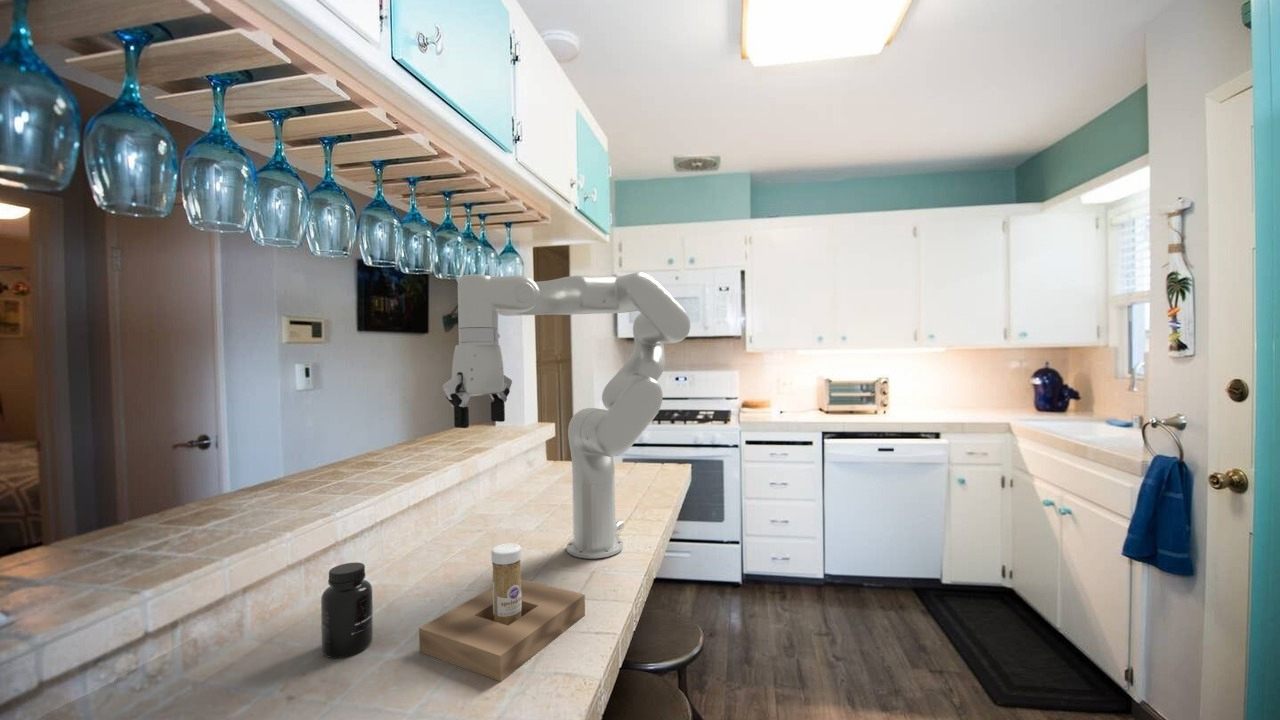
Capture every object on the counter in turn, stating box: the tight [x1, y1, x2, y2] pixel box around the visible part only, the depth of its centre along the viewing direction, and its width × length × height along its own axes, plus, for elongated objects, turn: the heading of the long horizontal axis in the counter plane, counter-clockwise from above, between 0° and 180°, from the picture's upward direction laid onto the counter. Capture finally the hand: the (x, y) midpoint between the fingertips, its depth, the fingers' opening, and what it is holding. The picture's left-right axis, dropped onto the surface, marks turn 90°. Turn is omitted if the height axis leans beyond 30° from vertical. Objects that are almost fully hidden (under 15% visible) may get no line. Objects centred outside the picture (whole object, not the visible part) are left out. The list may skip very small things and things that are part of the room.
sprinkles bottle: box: [491, 542, 522, 626], centre depth 83 cm, size 5×5×13 cm
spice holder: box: [418, 578, 586, 682], centre depth 83 cm, size 20×16×4 cm
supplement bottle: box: [320, 562, 374, 659], centre depth 80 cm, size 7×7×12 cm
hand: (480, 424), depth 104 cm, fingers open, 9 cm apart
